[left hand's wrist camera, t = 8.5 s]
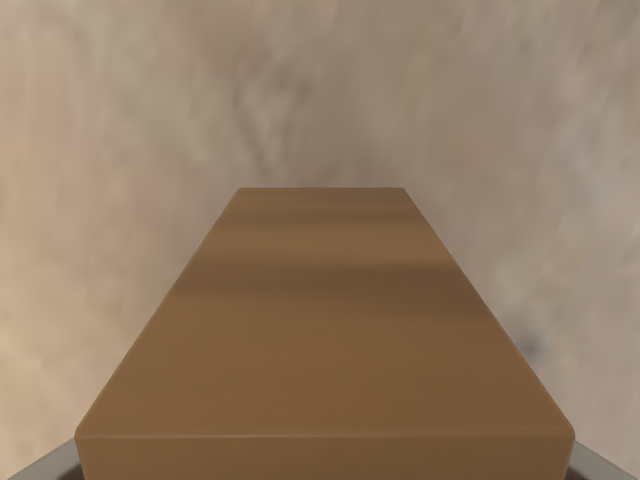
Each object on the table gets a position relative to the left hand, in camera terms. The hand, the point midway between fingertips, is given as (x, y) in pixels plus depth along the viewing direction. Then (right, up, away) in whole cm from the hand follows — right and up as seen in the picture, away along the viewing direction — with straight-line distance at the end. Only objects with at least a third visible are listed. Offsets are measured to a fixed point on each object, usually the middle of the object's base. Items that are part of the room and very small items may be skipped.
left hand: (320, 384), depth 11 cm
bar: (0, -8, +7) cm, 11 cm away
